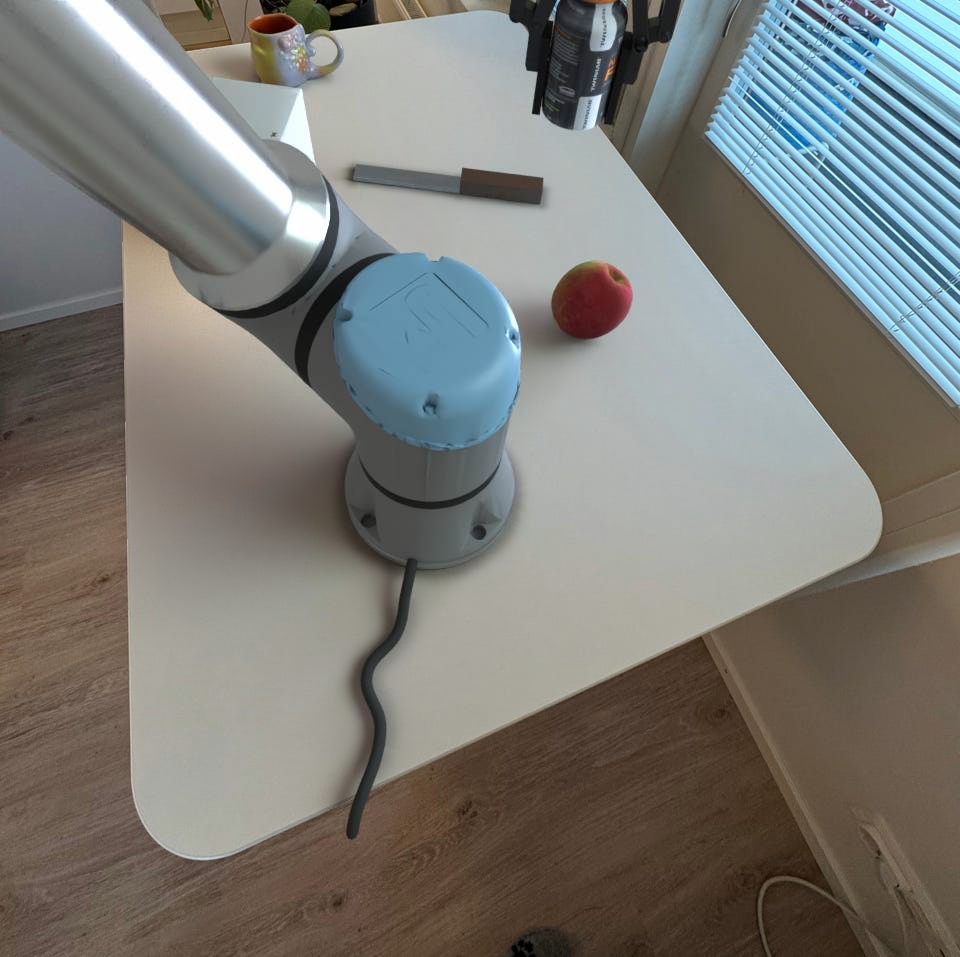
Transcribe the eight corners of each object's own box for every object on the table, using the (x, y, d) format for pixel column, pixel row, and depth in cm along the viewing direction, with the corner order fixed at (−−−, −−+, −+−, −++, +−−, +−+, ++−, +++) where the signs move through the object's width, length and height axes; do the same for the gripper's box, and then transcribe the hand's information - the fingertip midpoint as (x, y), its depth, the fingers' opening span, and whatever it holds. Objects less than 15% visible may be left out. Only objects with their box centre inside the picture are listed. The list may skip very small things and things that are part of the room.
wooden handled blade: (541, 190, 79) (543, 177, 77) (540, 204, 78) (542, 191, 76) (357, 167, 78) (355, 154, 77) (353, 181, 77) (351, 168, 75)
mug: (253, 90, 84) (239, 36, 78) (259, 60, 87) (247, 6, 81) (345, 95, 85) (338, 42, 79) (348, 65, 88) (342, 12, 82)
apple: (613, 362, 67) (635, 309, 60) (539, 343, 67) (552, 288, 60) (624, 310, 70) (646, 254, 63) (554, 292, 71) (568, 235, 64)
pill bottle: (606, 136, 57) (642, -6, 47) (541, 131, 57) (563, -13, 47) (602, 95, 60) (635, -47, 50) (540, 90, 60) (561, -53, 50)
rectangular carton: (327, 214, 74) (305, 85, 61) (310, 270, 70) (282, 144, 57) (250, 204, 74) (211, 72, 61) (228, 259, 70) (181, 131, 56)
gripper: (797, -265, 40) (673, 100, 60) (497, -307, 40) (476, 72, 60) (811, -220, 36) (674, 150, 57) (483, -266, 36) (465, 121, 57)
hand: (572, 110), depth 58 cm, fingers closed on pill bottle, 6 cm apart
